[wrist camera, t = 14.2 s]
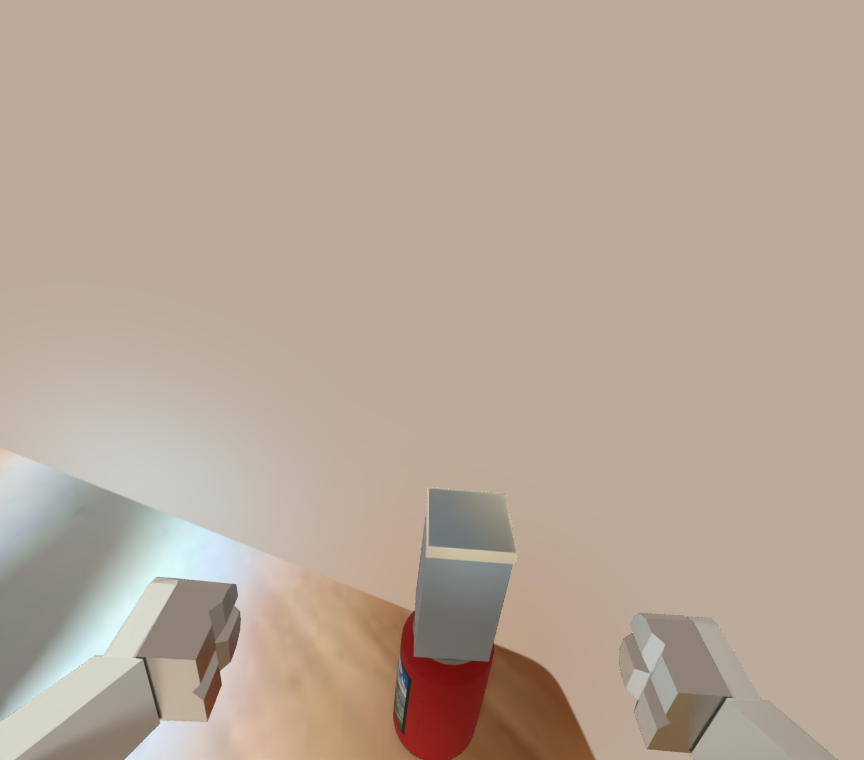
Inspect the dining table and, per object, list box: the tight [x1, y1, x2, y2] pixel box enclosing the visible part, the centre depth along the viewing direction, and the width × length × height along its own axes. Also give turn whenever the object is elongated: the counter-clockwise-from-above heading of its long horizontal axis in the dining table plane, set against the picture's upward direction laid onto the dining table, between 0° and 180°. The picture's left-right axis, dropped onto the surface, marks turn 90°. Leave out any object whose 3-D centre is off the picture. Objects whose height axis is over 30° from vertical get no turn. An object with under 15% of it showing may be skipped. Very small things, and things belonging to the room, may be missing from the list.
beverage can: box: [393, 611, 494, 760], centre depth 37 cm, size 7×7×12 cm
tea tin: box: [414, 487, 518, 662], centre depth 32 cm, size 5×5×10 cm
